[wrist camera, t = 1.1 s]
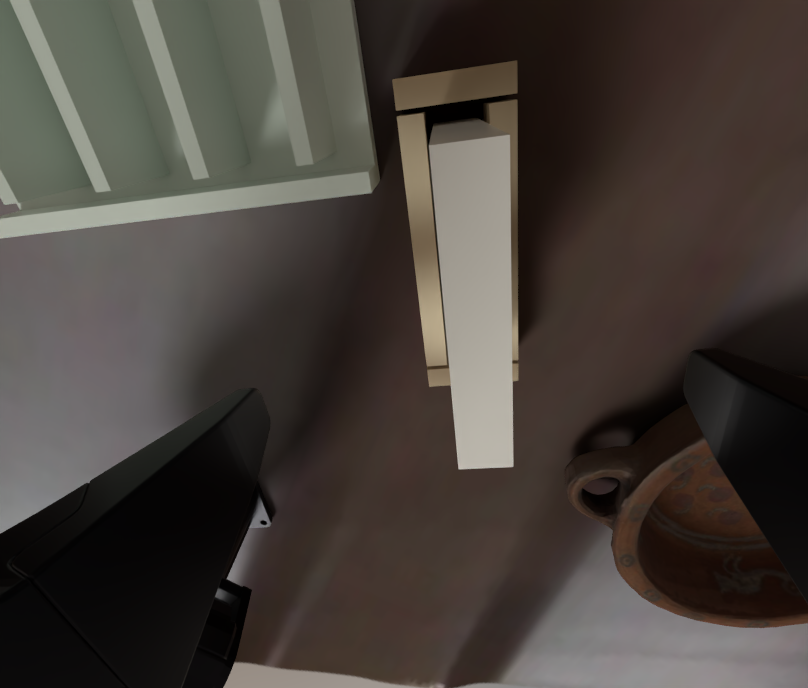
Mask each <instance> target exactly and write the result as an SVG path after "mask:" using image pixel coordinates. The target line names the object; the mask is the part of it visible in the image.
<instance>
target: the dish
mask: <svg viewBox="0 0 808 688" xmlns="http://www.w3.org/2000/svg"><path fill="white" fill-rule="evenodd" d="M799 377H802V378H805V379H807V380H808V376H799ZM602 477H612V478H616V479H618V480H619V483H618V486H617V487H616V488H615V489H614V490H613V491H611V492H609V493H607V494H602V495H596V494H592V493H590V492H587V491H586V490H584V489H583V487H584V486H585V485H586V484H587V483H589V482H590V481H592V480H595V479H598V478H602ZM565 484H566V488H567V493H568V499H569V500H570V502H571V503H572V505H573V506H574V507H575V508H576V509H577V510H578V511H579V512H581V513H582V514H584V515H585V516H587V517H589V518H592V519H594V520H597V521H599V522H601V523H603V524H604V525H606V526H608V527H610V528H611V529H612V530H613V534H612V535H613V536H612V541H611V547H612V551H613V555H614V560H615V564H616V567H617V570H618V572H619V573H620V575H621V576H622V577H623V579H624V580H625V581H626V582H627V583H628V585H629V586H630V587H631V588H632V589H634V590H635V591H636V592H637V593H638V594H639V595H640V596H641V597H642V598H644V599H646V600H648V601H649V602H650V603H652V604H654V605H656V606H658V607H660V608H663V609H665V610H668V611H670V612H672V613H675V614H677V615H680V616H684V617H687V618H690V619H694V620H698V621H703V622H708V623H713V624H719V625H724V626H732V627H743V628H767V627H779V626H787V625H795V624H804V623H808V603H807V602H806V600H805V599H804V597H803V596H802V594H801V593H800V591H799V589H798V588H797V586H796V585H795V583H794V582H793V580H792V578H791V577H790V575H789V574H788V572H787V571H786V569H785V568H784V566H783V564H782V563H781V561H780V560H779V558H778V557H777V555H776V554H775V552H774V550H773V549H772V547H771V546H770V544H769V543H768V541H767V539H766V538H765V536H764V535H763V533H762V532H761V530H760V529H759V527H758V525H757V524H756V522H755V521H754V519H753V518H752V516H751V515H750V513H749V511H748V510H747V508H746V507H745V505H744V504H743V502H742V500H741V499H740V497H739V496H738V494H737V493H736V491H735V490H734V488H733V486H732V485H731V483H730V482H729V480H728V479H727V477H726V476H725V474H724V472H723V471H722V469H721V467H720V466H719V464H718V463H717V461H716V459H715V457H714V455H713V453H712V451H711V449H710V447H709V445H708V443H707V441H706V439H705V437H704V435H703V433H702V431H701V429H700V427H699V425H698V423H697V421H696V419H695V417H694V415H693V412H692V410H691V408H690V406H689V404H688V403H687V404H685V405H683V406H682V407H680V408H678V409H677V410H675V411H673V412H672V413H670V414H669V415H668V416H666V417H665V418H663V419H662V420H660V421H659V422H658V423H656V424H655V425H654V426H653V427H651V428H650V429H649V430H648V431H647V432H645V433H644V434H643V435H642V436H641V437H640V438H639V439H638V440H637V441H636V442H635V443H634V444H633V445H631V446H625V447H611V448H605V449H599V450H595V451H591V452H588V453H585V454H582V455H579V456H577V457H575V458H574V459H573V460H572V461H571V462H570V463H569V464H568V465H567V467H566V469H565Z"/></svg>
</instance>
